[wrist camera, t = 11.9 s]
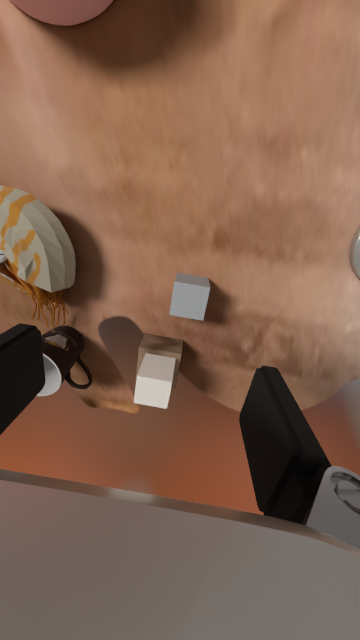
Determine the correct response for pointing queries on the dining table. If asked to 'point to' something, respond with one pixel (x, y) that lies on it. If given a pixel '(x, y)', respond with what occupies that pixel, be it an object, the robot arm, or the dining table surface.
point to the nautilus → (34, 250)
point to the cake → (62, 10)
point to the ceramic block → (154, 380)
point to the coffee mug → (61, 358)
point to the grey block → (190, 296)
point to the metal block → (161, 351)
